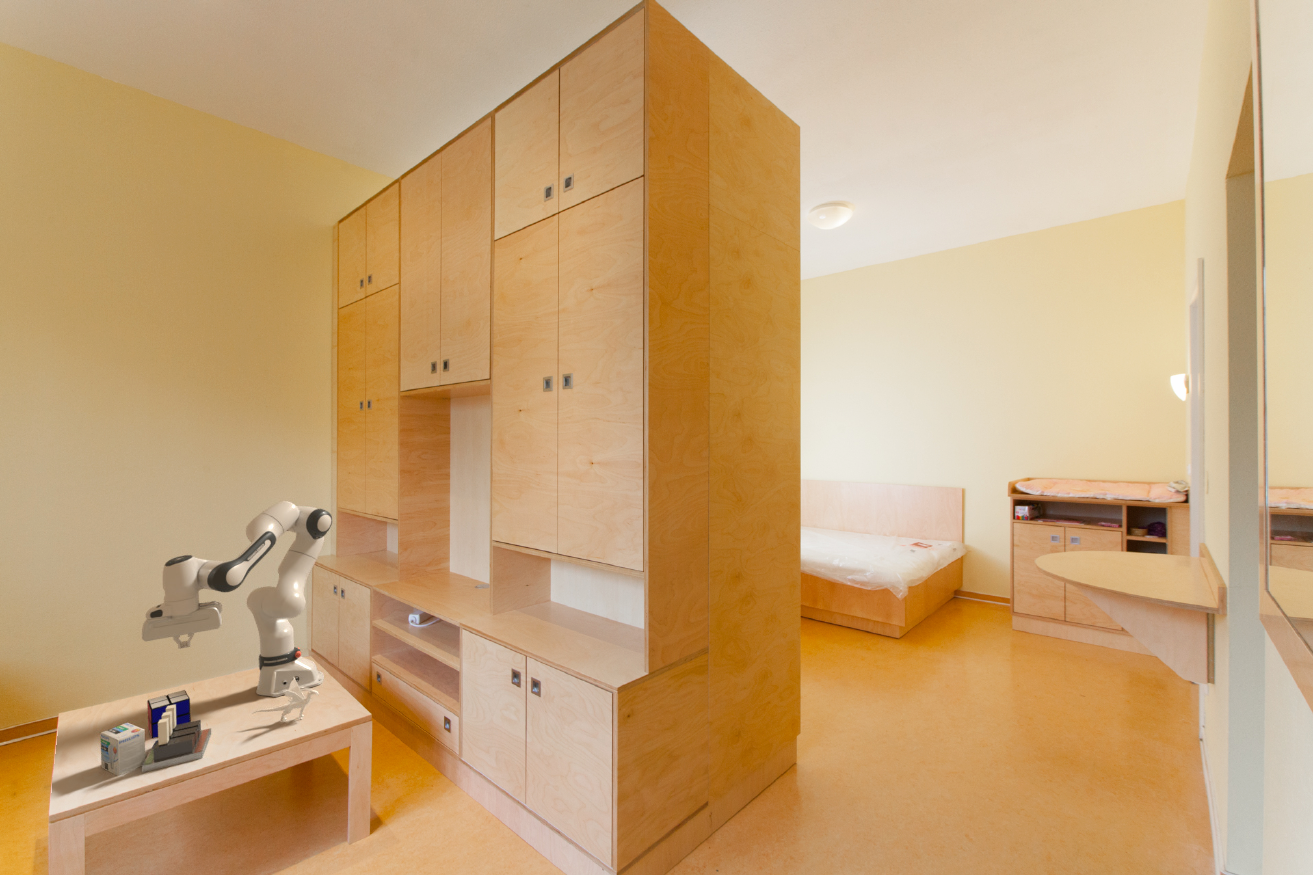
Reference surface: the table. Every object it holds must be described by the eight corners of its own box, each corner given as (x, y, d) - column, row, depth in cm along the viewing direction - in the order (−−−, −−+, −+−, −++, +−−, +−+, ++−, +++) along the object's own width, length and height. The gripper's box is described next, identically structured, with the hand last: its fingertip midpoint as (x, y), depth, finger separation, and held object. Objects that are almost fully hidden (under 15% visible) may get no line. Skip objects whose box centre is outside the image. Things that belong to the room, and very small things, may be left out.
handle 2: (176, 724, 181) (175, 704, 181) (174, 728, 179) (174, 707, 179) (168, 726, 180) (167, 705, 180) (166, 730, 178) (165, 709, 178)
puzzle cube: (151, 739, 185) (150, 709, 184) (147, 728, 191) (146, 699, 191) (191, 727, 192) (190, 698, 192) (185, 717, 199) (185, 689, 199)
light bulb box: (100, 767, 169) (99, 732, 169) (128, 755, 175) (127, 721, 175) (118, 776, 165) (117, 740, 164) (146, 764, 171) (145, 728, 171)
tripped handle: (172, 732, 177) (171, 710, 177) (170, 735, 175) (170, 714, 175) (164, 733, 176) (163, 712, 176) (162, 737, 174) (161, 715, 174)
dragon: (316, 722, 194) (315, 685, 193) (246, 734, 186) (245, 696, 186) (322, 707, 204) (321, 672, 204) (256, 718, 197) (255, 681, 197)
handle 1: (169, 739, 173) (168, 717, 172) (167, 743, 171) (166, 721, 170) (160, 741, 172) (159, 719, 171) (158, 745, 170) (157, 723, 169)
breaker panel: (211, 733, 187) (210, 716, 187) (202, 757, 173) (201, 738, 173) (155, 746, 180) (155, 728, 180) (142, 772, 166) (141, 752, 166)
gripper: (222, 597, 194) (225, 636, 194) (143, 609, 183) (146, 651, 184) (220, 602, 188) (222, 642, 189) (138, 615, 178) (141, 658, 178)
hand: (184, 647), depth 186 cm, fingers closed
